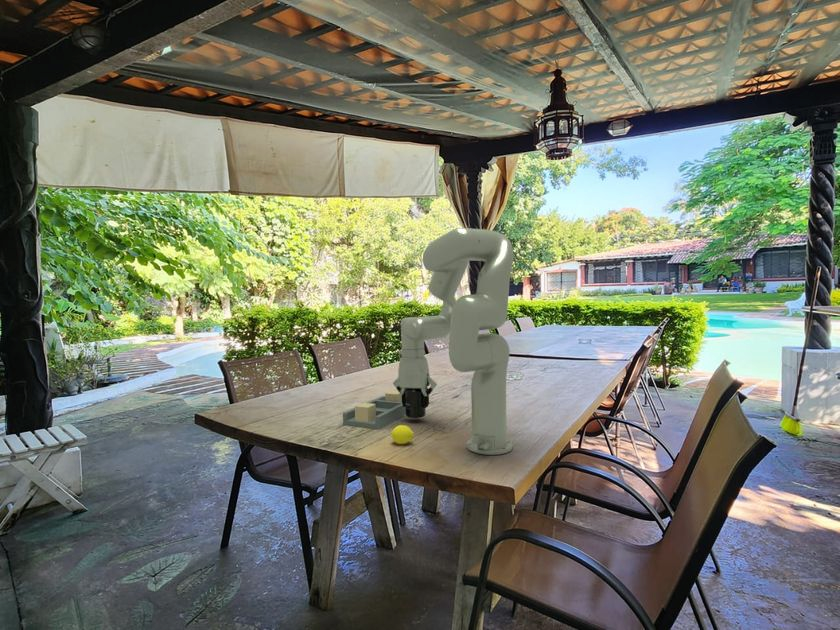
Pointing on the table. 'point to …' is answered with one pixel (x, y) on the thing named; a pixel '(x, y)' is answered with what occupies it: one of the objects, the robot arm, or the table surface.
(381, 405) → the rail rack
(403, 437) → the lemon
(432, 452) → the table surface
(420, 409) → the supplement bottle
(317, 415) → the table surface
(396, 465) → the table surface
